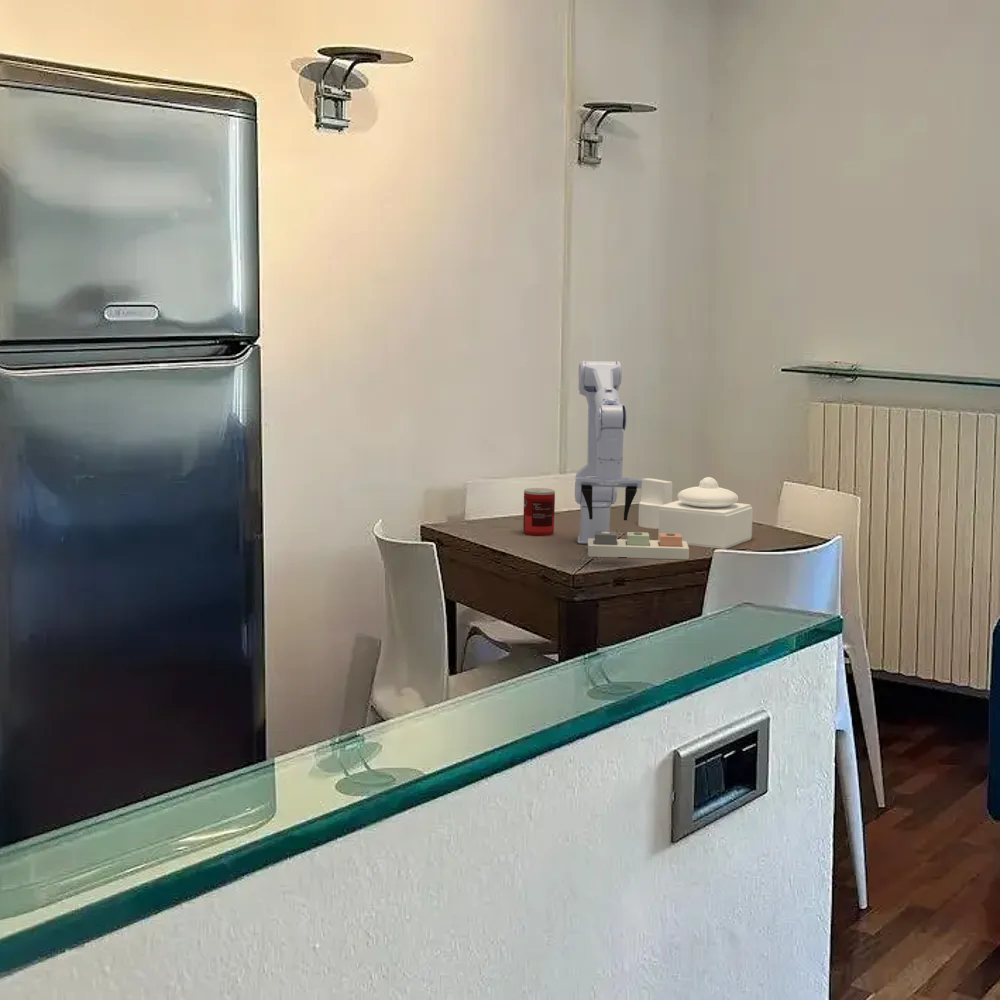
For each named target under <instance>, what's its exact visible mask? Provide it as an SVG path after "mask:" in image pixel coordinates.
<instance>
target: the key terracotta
mask: <svg viewBox="0 0 1000 1000" xmlns="http://www.w3.org/2000/svg"><path fill="white" fill-rule="evenodd" d="M658 533H659V532H658ZM659 546H670V547H682V535H681V534H680V533H659Z"/></svg>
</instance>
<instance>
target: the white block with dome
mask: <svg viewBox="0 0 1000 1000" xmlns="http://www.w3.org/2000/svg"><path fill="white" fill-rule="evenodd" d="M677 499H678V500H675V501H672V502H671V503H668V504H664V505H661V506H658V509H659V529H658V539H657V540H659V533H680V534H681V535H682V541H686V542H687V544H688V546H693V547H701V548H703V547H704V548H712V549H719V550H726V549H729V548H732V547H734V546H737V545H739V544H742V543H745V542H748V541H750V540H752V537H753V536H752V535H753V514H754V510H753V509H754V507H752V504H749V503H742V502H741V503H739V502H738V501H739V495H738V494H737V493H736V492H734V491H732V490H730V489H727V488H723V487H720V486H719V483H718V481H717V480H716V479H715V478H714V477H710V476H706V477H704V478H702V479H701V480H700V481H699V485H698V486H692V487H688V488H685V489H682V490H680V491H679V492H678V493H677ZM737 502H738V503H737Z"/></svg>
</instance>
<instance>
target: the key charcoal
mask: <svg viewBox="0 0 1000 1000" xmlns="http://www.w3.org/2000/svg"><path fill="white" fill-rule="evenodd" d="M617 537H618V536H617V531H609V532H607V531H595V544H599V545H616V540H617Z"/></svg>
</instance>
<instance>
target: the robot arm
mask: <svg viewBox="0 0 1000 1000" xmlns="http://www.w3.org/2000/svg"><path fill="white" fill-rule="evenodd" d="M622 369H623V368H622V363H621V362H620V361H619V360H615V361H614V360H613V361H611V360H605V361H604V360H603V361H601V360H597V361H596V360H583V359H582V360H581V361H580V362H579V364H578V391H579V392H578V393H579V395H581V396H584V397H585V398H586V402H587V454H586V455H587V458H586V459H587V460H586V461H587V462H586V465H584V466H583V467H581V468H580V469H579V470H578V471H577V472H576V474H575V482H574V501H575V502H576V503H577V504H578V505H580V507H579V508H580V510H579V511H580V512H579V516H580V517H579V519H580V520H579V535H578V537H577V543H578V544H587V545H588V538H591V539H595V531H607V532H611V531H610V529H611V528H610V526H611V525H610V523H611V508H612V505H614V504H615V503H616V502H617V496H618V488H625V490H624V491H625V495H624V496H625V497H624V511H623V521H628V517H629V516H628V515H629V511H630V508H631V505H632V502H633V500H634V498H635V496H636V495H637V493H638V489H641V488H642V479H643V478H633V477H623V462H624V461H623V460H624V459H623V458H624V457H623V456H624V455H623V454H624V432H625V431H626V427H627V423H628V422H627V420H628V415H627V413H628V411H627V407H626V404H623V403H622V402H621V397H620V393H619V390H620V389H619V388H620V386H621V383H622V377H623V376H622V374H623V373H622V372H623V371H622Z"/></svg>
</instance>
